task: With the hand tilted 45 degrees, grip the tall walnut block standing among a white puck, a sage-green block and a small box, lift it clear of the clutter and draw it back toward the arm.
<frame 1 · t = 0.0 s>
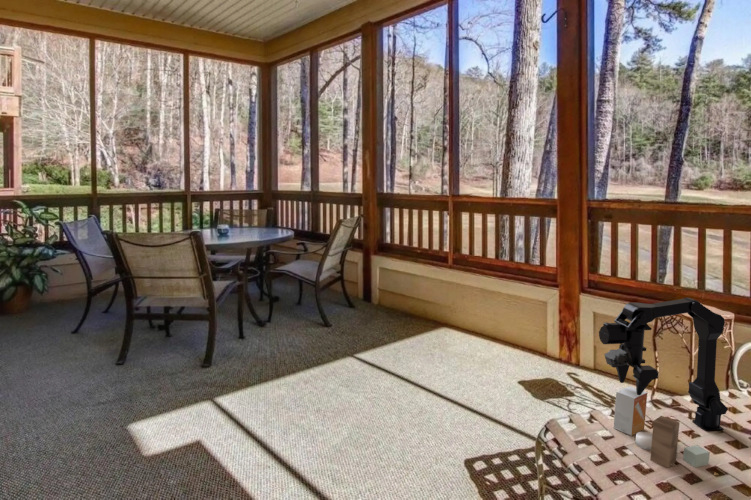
hand: (629, 388, 159), 15 cm above the table, tool pointing down, fingers open, 9 cm apart
sage block: (695, 462, 143), on the table
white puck: (646, 445, 153), on the table
small box: (628, 429, 162), on the table
walnut block: (663, 461, 144), on the table
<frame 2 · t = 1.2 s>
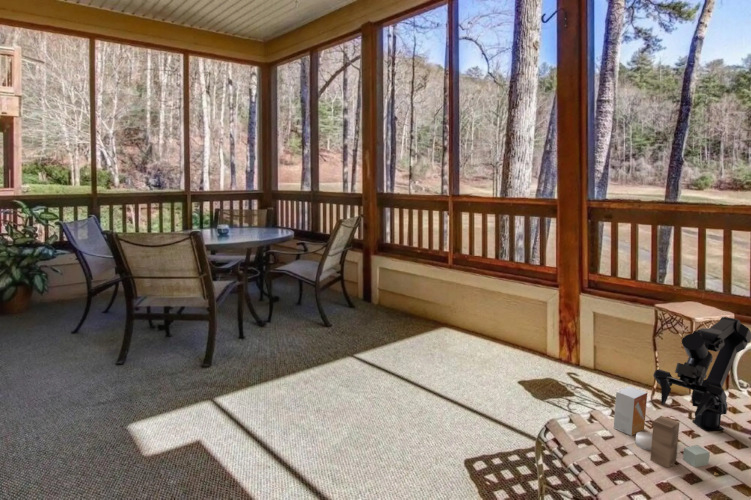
hand: (678, 410, 147), 13 cm above the table, tool tilted 45°, fingers open, 9 cm apart
nothing on the table moved.
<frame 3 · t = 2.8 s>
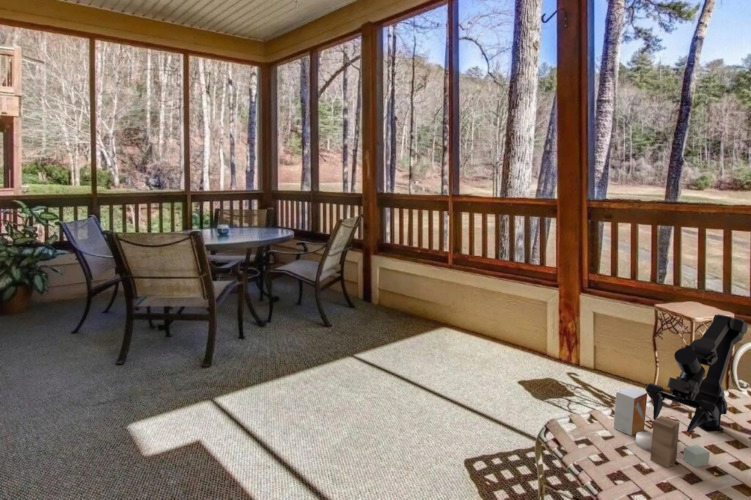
hand: (670, 425, 144), 10 cm above the table, tool tilted 45°, fingers open, 9 cm apart
nothing on the table moved.
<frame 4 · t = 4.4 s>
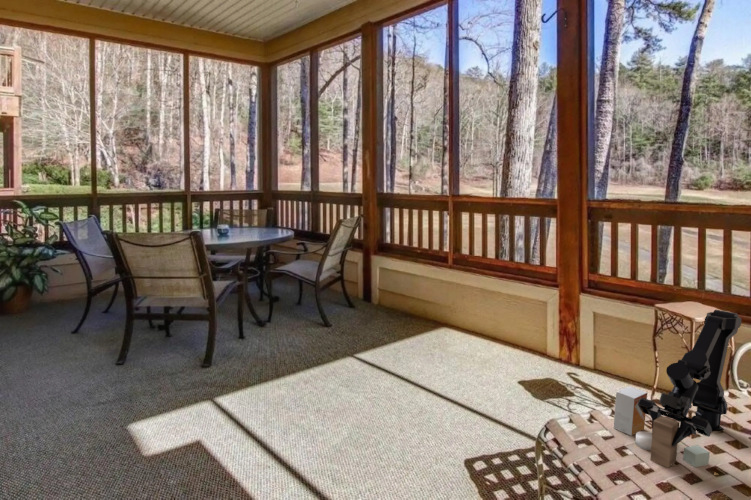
hand: (662, 441, 142), 7 cm above the table, tool tilted 45°, fingers closed on walnut block, 5 cm apart
walnut block: (663, 460, 144), on the table, touching gripper
everything else where it was.
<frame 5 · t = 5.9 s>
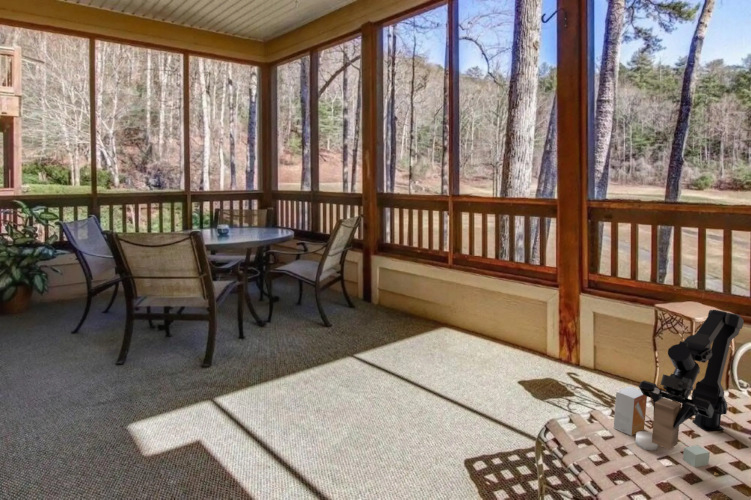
hand: (664, 423, 141), 12 cm above the table, tool tilted 45°, fingers closed on walnut block, 5 cm apart
walnut block: (664, 443, 143), point 6 cm above the table, touching gripper
everything else where it was.
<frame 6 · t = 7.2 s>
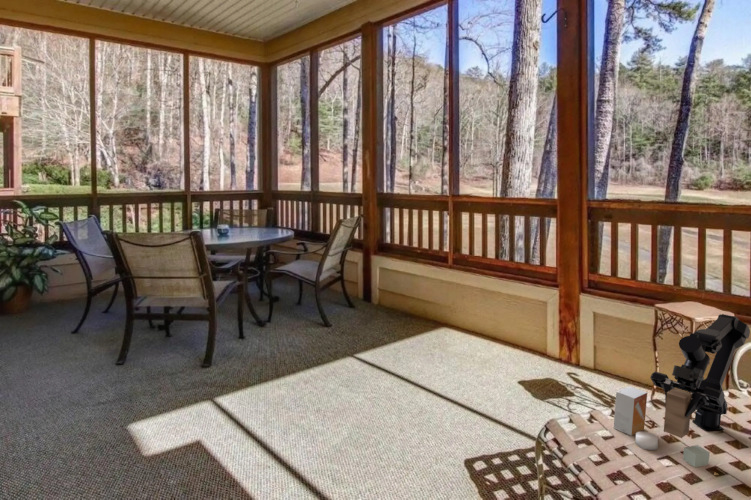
hand: (675, 412, 146), 13 cm above the table, tool tilted 45°, fingers closed on walnut block, 5 cm apart
walnut block: (676, 431, 147), point 7 cm above the table, touching gripper
everything else where it was.
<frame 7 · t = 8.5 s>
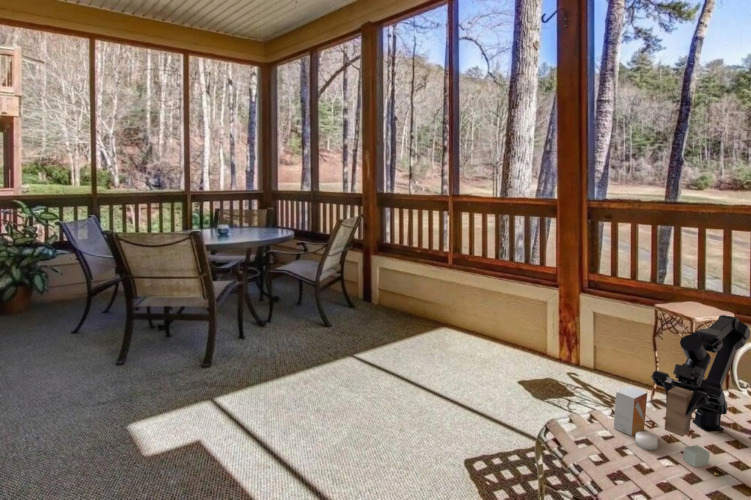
hand: (676, 411, 146), 14 cm above the table, tool tilted 45°, fingers closed on walnut block, 5 cm apart
walnut block: (677, 430, 148), point 7 cm above the table, touching gripper
everything else where it was.
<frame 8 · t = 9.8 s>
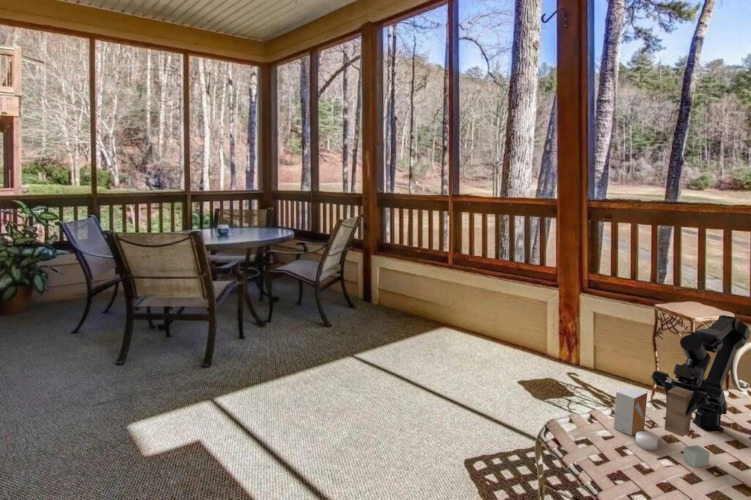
hand: (676, 411, 146), 14 cm above the table, tool tilted 45°, fingers closed on walnut block, 5 cm apart
walnut block: (677, 430, 148), point 7 cm above the table, touching gripper
everything else where it was.
at the end: walnut block point 6.9 cm above the table; the gripper is holding walnut block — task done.
